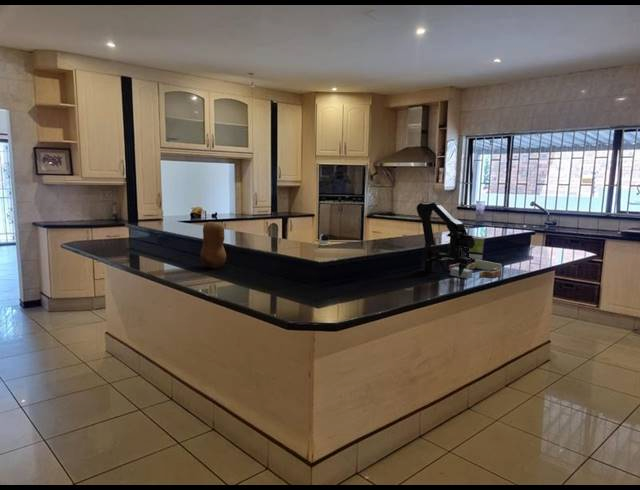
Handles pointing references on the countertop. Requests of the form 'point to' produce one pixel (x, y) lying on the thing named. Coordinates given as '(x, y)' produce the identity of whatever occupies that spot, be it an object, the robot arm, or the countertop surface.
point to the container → (324, 239)
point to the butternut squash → (213, 245)
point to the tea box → (477, 248)
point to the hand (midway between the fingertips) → (452, 274)
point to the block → (465, 273)
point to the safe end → (487, 265)
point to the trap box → (493, 273)
